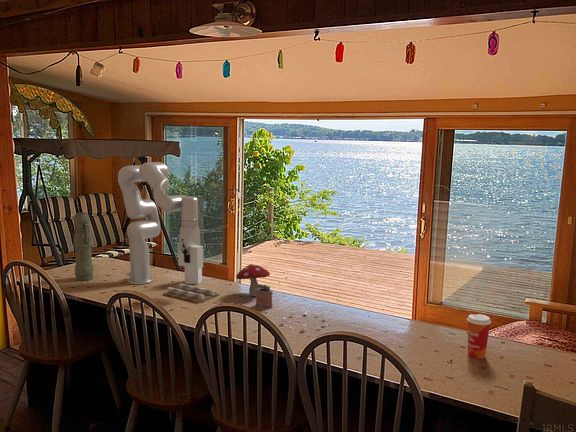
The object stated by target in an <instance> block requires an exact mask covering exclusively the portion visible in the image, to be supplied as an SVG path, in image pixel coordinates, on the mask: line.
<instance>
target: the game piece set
mask: <svg viewBox="0 0 576 432" xmlns="http://www.w3.org/2000/svg"><path fill="white" fill-rule="evenodd" d="M295 313H296V312H295V311H290V317H293V318H294V317H295ZM307 315H308V312H307V310H306V309H304V311H303V316H307ZM315 318H320V314H319V312H316V313H315ZM327 319H328V318H327V316H326V313H325V312H323V320H324V322H323V324H322V326H323V327H328V325H329V323H327ZM286 320H287V318H286V317H285V316H283V317H281V321H280V322H281V325H285V321H286ZM317 323H319V320H317ZM287 327H289V328H288V330H289V329H290V330H293V329H294V328H293V327H292V326H289V325H288V324H287ZM301 328H302V331H303V332H305V331H306V330H307V324H305V323H303V324H302V325H301ZM316 330H318V331H319V330H320V331H321V327H320V326H319V325H317V327H316Z"/></svg>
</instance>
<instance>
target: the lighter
mask: <svg viewBox="0 0 576 432" xmlns="http://www.w3.org/2000/svg"><path fill="white" fill-rule="evenodd" d="M257 287H259V288H260V289H256V296H255V307H256V308H257V307H258V308H261V309H270V310H271V309H273V290H271V286H270V285H267V284H259V283H258V285H257Z"/></svg>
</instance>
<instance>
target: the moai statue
mask: <svg viewBox="0 0 576 432" xmlns="http://www.w3.org/2000/svg"><path fill="white" fill-rule="evenodd" d="M73 228H74V234H73V237H72V238H73V247H74V253H75V255H74V257H75V258H74V259H75V266H74V275H75V280H76V281H78V282H87V281H91V280H94V265H93V261H92V260H93V259H92V256H93V255H92V247H93V236H92V233H91V229H90V228H91V221H90V216H89V214H88V213H87V212H76V213H75V214H74V217H73Z"/></svg>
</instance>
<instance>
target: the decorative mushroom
mask: <svg viewBox="0 0 576 432" xmlns="http://www.w3.org/2000/svg"><path fill="white" fill-rule="evenodd" d="M269 276H271V274H270V272H269V271H268V269H266V268H264V267H263V266H260V265H257V264H254V263H251V264H248V265H246V266H245V267H243V268H242V269H241V270H240V271H239V272H237V274H236V276H235V278H236V279H237V280H249V279H250V284H249V288H248V289H249V291H248V292H249V293H248V295H249V296H251V297H256V289H260V288H259V287H257V285H258V284H259V282H258V281H257V279H259V278H267V277H269Z"/></svg>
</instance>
